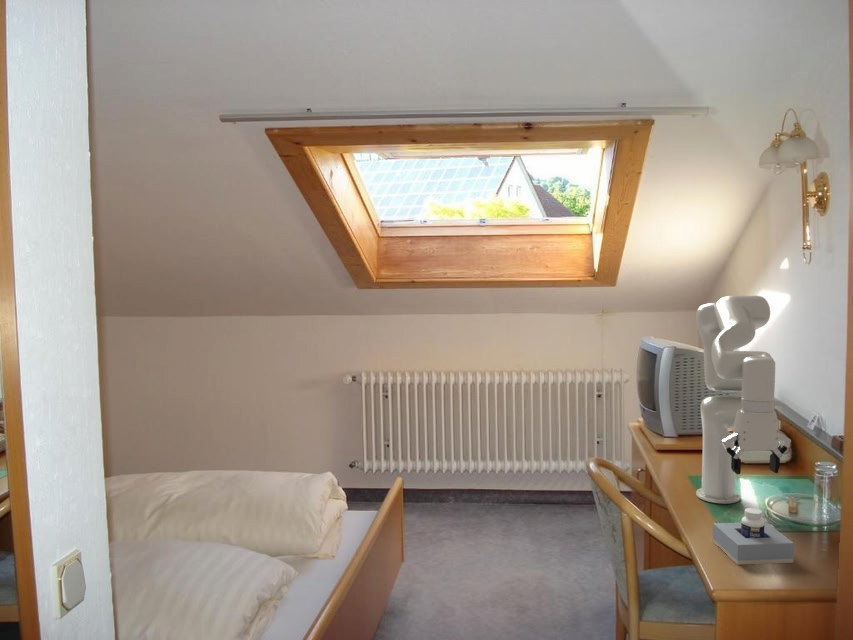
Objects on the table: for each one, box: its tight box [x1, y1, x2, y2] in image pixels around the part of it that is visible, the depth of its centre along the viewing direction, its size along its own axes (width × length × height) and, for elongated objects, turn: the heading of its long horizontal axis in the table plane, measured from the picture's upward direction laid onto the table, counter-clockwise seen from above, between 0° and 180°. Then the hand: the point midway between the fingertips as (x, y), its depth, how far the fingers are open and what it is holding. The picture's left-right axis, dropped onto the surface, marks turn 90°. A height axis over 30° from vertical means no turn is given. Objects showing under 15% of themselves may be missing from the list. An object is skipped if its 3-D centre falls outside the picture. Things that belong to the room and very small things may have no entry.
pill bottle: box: [740, 507, 765, 538], centre depth 189 cm, size 5×5×10 cm
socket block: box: [712, 521, 795, 566], centre depth 189 cm, size 14×14×5 cm
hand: (755, 472), depth 188 cm, fingers open, 9 cm apart
